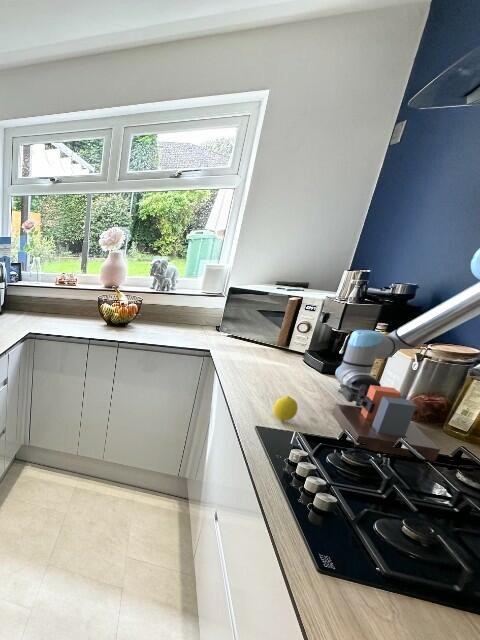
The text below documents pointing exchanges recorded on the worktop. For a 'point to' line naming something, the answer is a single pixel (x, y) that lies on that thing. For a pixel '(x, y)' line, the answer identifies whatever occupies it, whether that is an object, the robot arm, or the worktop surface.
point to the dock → (379, 442)
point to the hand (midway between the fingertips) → (386, 410)
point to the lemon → (285, 408)
